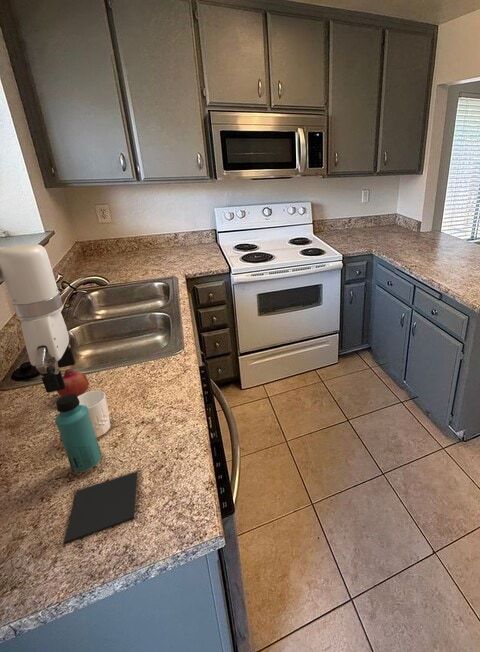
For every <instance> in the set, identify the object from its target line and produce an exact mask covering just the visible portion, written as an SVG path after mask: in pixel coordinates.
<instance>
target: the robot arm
mask: <svg viewBox="0 0 480 652" xmlns="http://www.w3.org/2000/svg"><path fill="white" fill-rule="evenodd" d="M2 282H4V284H5V287H6V290H7V292H8V296H9V298H10V300H11V304H12V307H13V309H14V313H15V316H16V319H17V320H19V321H20V325H21V333H22V336H23V340H24V341H23V342H24V345H25V349H26V352H27V355H28V359H29V362H30V365H31V366H33V367H35V368H36V370H37V372H38V374H39V377H40V379H41V381H42V384H43V386H44V389H45V391H46V393H48V394H50V393H54V392H57V391H59V390H63V389H65V387H66V386H65V383H64V380H63V374H62V371H59V368H60V369H62V368H65V367H70V366H75V365H76V359H75V356H74V354H73V350H72V348H71V343H70V336H69V332H68V328H67V325H66V322H65V319H64V317H63V316H64V315H63V314H62V310H63V309H64V304H63V301H62V297H61V295H60V292H59V288H58V285H57V282H56V278H55V275H54V271H53V268H52V265H51V261H50V258H49V255H48V252H47V250H46V247H44V246H43V245H41V244H38V243H23V244H22V243H21V244H17V245H10V246H0V283H2ZM50 364H52V366H48V365H50Z"/></svg>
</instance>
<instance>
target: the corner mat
mask: <svg viewBox="0 0 480 652" xmlns="http://www.w3.org/2000/svg"><path fill="white" fill-rule="evenodd" d="M137 484H138V471H134V472H132V473H129V474H126V475H122V476H119V477H116V478H113V479H110V480H107V481H104V482H100V483H98V484H94V485H91V486H87V487H85V488H82V489H79V490H76V493H75V499H74V502H73V506H72V509H71V514H70V519H69V523H68V526H67V530H66V534H65V539H64V544H67V543H70V542H73V541H75V540H78V539H81V538H84V537H86V536H89V535H92V534H95V533H98V532H100V531H102V530H105V529H108V528H112V527H114V526H117V525H119V524H122V523H125V522H128V521H131V520H134V519H135V513H136V511H135V510H136V498H137V497H136V495H137Z"/></svg>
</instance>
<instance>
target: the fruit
mask: <svg viewBox="0 0 480 652" xmlns="http://www.w3.org/2000/svg"><path fill="white" fill-rule="evenodd" d="M62 377H63V380H64V383H65V386H66V387H65V389H63V390H59V391H56V392H57V394H58V396H60V398H61V397H62V396H64V395H67V394H76V395H77V397H78V396H80V395H82V394H84V393H86V392H87V390H88V389H89V385H90V384H89V383H90V382H89V379H88V377H87V375H86V374H85V373H84V372H81V371H74V369H71V368H67V369H65V371H64V374H63V375H62Z"/></svg>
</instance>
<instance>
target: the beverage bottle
mask: <svg viewBox="0 0 480 652" xmlns="http://www.w3.org/2000/svg"><path fill="white" fill-rule="evenodd" d="M79 403H80V401H79V399H78V397H77V395H76V394H67V395H64V396H62V397H61V396H60V397H59V398H58V399H57V400H56V403H55V405H56V409H57V412H58V414H57V416H56V417H55V419H54V422H55V425H56V427H57V430H58V434H59V437H60V438H59V439H60V442H62V445H63V448H64V451H65V455H66V458H67V461H68V465H69V466H70V469H71V470H72V471H73V472H76V473H83V472H87V471H88V470H91V469H92V468H94V467H95V466H97V465H98V464H99V462H101V459H102V453H103V452H102V449H101V446H100V443H99V440H98V437H97V438H96V435H95V431H94V429H93V426H92V422H91V419H90V416H89V412H88V408H87V407H86V406H84V405H79Z"/></svg>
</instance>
